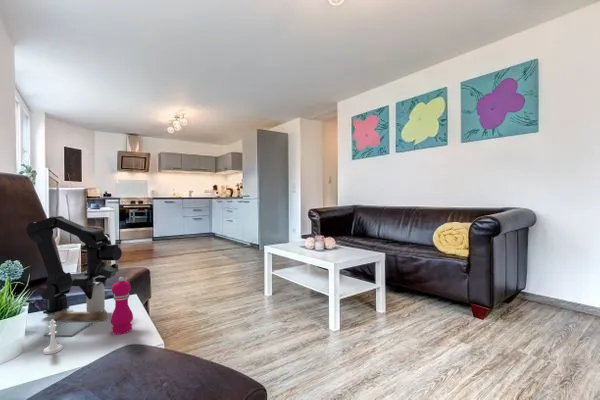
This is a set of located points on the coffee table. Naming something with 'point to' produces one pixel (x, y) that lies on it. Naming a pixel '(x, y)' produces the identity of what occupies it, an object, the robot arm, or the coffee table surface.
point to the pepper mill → (121, 308)
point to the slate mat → (69, 329)
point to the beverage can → (96, 298)
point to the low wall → (80, 316)
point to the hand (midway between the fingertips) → (95, 296)
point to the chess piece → (52, 340)
